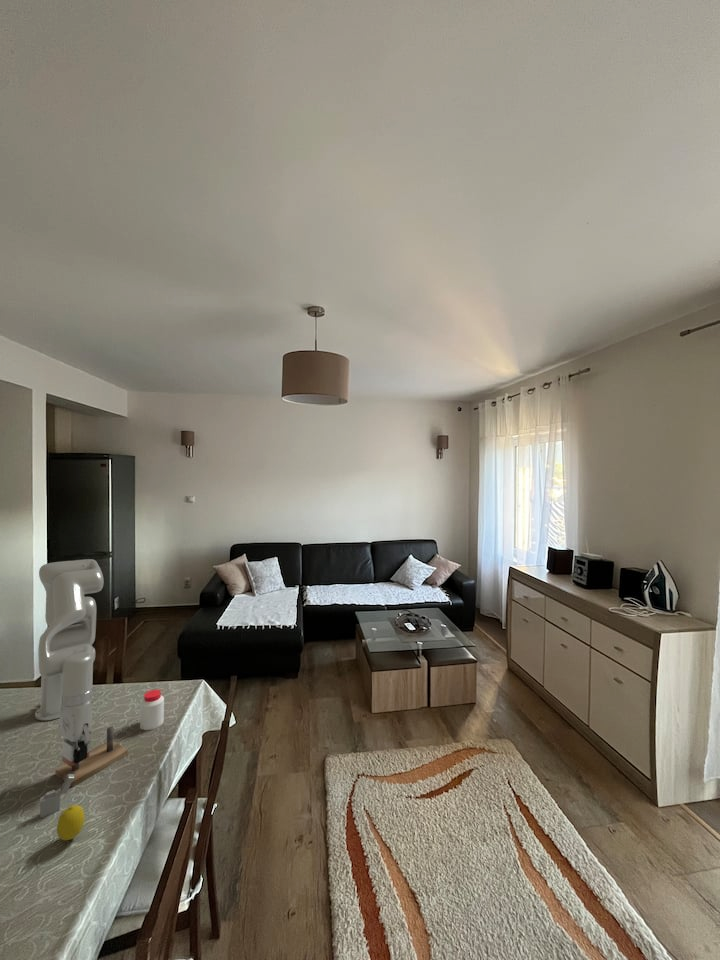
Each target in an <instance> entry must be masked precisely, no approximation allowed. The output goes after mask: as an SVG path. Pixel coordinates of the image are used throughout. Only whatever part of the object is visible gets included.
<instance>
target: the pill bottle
mask: <svg viewBox="0 0 720 960" xmlns="http://www.w3.org/2000/svg"><path fill="white" fill-rule="evenodd" d="M143 696H144V697H143V699H141V701H140V705H139V707H140V710H139V711H140V712H139V713H140V714H139V728H140V729H141V730H144V731H151V730H155V729H157V728H159V727H161V726H162V725H163V724H164V721H165V714H164V713H165V697H164V696H163V695H162V690H159V689H152V690H148V691H146V692H145V693H144V694H143Z"/></svg>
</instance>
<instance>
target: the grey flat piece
mask: <svg viewBox="0 0 720 960" xmlns="http://www.w3.org/2000/svg"><path fill="white" fill-rule="evenodd" d="M73 779H74V774H68V775H67V777H66V779H65V781H64V780H63V784H62V786H61V788H59V790H58V791H56V789H53V790H50V791H47V792H46V793H45V795H43V796H41V797H40V801H39V802H40V804H39V805H40V808H39V812H40V813H39V819H43V818H45V817H47V816H49V815H52V814H54V813H57V812H59V811H61V795H66V794H67V792H68V790H69V789H70V787H71V786H70V785H71V783H72V781H73Z"/></svg>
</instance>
